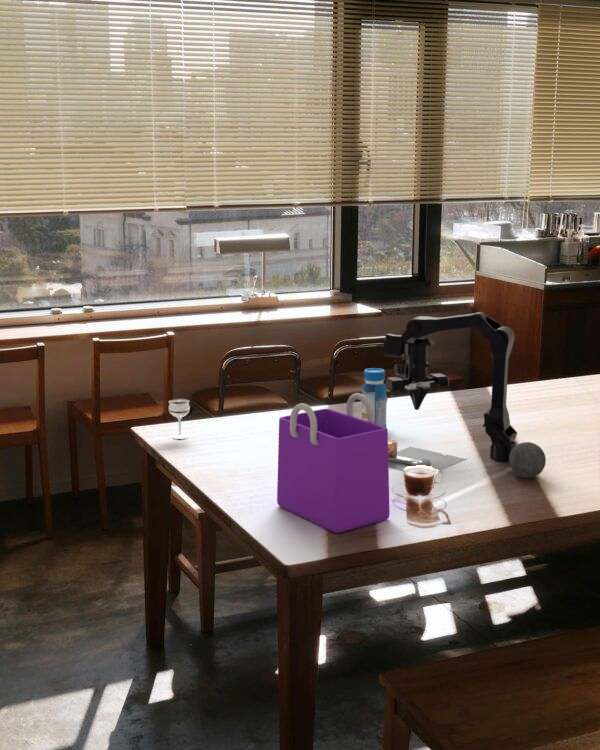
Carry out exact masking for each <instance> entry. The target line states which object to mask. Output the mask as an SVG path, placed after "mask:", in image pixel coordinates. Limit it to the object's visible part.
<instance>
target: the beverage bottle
mask: <svg viewBox="0 0 600 750" xmlns="http://www.w3.org/2000/svg"><path fill="white" fill-rule="evenodd" d="M363 380H364V381H365V382H364V383H363V385H362V388H361V394H363V395H364V396H366V397H367V398H368V400H369V401H370V403H371V405H372V407H373V412H374V424H377V425H380V426H383V427H386V428H387V402H388V396H387V392H388V388H387V387H385V382H384V381H386V370H385V369H383V368H379V367H378V368H377V367H370V368H365V369H364V371H363ZM361 419H362V420H365V421H368V418H367V410H366V407H365V405H364V404H363V402H362V401H361Z"/></svg>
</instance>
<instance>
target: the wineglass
mask: <svg viewBox="0 0 600 750" xmlns="http://www.w3.org/2000/svg"><path fill="white" fill-rule="evenodd" d="M189 403H190V400H189V399H185V398H174V399H171V400H168V404H169V405H168V412H169V414H170V415H172V416H173V417H176V419H177V420H178V432H179V434H178V436H179V435H181V433H182V432H181V431H182V430H181V429H182V428H181V427H182V425H181V423H182V421H181V420H182V419H183V417H185V416H187V415H188V414H189V413H190V408H191V406H190V404H189Z"/></svg>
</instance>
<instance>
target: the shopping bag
mask: <svg viewBox="0 0 600 750" xmlns="http://www.w3.org/2000/svg"><path fill="white" fill-rule="evenodd" d="M356 400H358V401H360V402H361V403H362V402H363V404H364V405H365V407H366V410H367V418H368V421H365V420H362V418H359V417H355V416H354V403H355V401H356ZM345 409H346V413H343V412H340V411H337V410H335V409H331V408H321V409H315V410H313V409H312V407H311V406H310V405H308V404H307V403H303V402H302V403H298V404H296V405H294V407H293V408H292V410H291V413H290V415H284V416H281V417H279V418H278V419H279V420H278V443H277V444H278V446H277V447H278V449H277V451H278V452H277V453H278V454H277V455H278V456H277V486H276V487H277V488H276V489H277V490H276V503H277V505H278V506H279V507H281V508H282V509H284V510H286V511H289V512H291V513H293V514H295V515H297V516H299V517H301V518H303V519H305V520H308V521H309V522H311V523H314V524H316V525H318V526H320V527H322V528H323V529H326V530H328V531H330V532H332V533H336V534H340V533H343V532H344V533H345V532H348V531H351V530H353V529H357V528H362V527H366V526H368V525H369V526H370V525H372V524H375V523H379V522H383V521H386V520H388V519H389V518H390V481H389V479H390V475H389V467H388V441H389V438H388V437H389V434H388V432H389V431H388V427H387V426H386V427H383V426H380V425H377V424H374V412H373V407H372V405H371V403H370V401H369V400H368V398H367V397H366V396H364V395H363V393H359V392H355V393H352V394H351V395H350V396H349V397H348V398H347V402H346V408H345ZM301 411H303V412H301Z"/></svg>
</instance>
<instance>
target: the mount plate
mask: <svg viewBox="0 0 600 750" xmlns="http://www.w3.org/2000/svg"><path fill="white" fill-rule="evenodd" d="M397 456H401V457H406V458H411V459H427V460H429V461H431V466H432V467H433V468H435V469H438V470H440V471H439V472H441V471H443V470H445V469H448V468H450V467H453V466H455V465H457V464H459V463H461V462H465V461H466V460H467V458H464V457H458V456H454V455H451V454H450V455H449V454H447V453H441V452H437V451H432V450H428V449H422V448H419V447H414V446H409V447H406V448H404V449H401V450H397ZM407 466H410V464H405V463H400V462H395V461H390V460H388V467H389V468H390V469H392V470H398V471H402V472H404V471H403V469H404V468H405V467H407Z"/></svg>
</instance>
